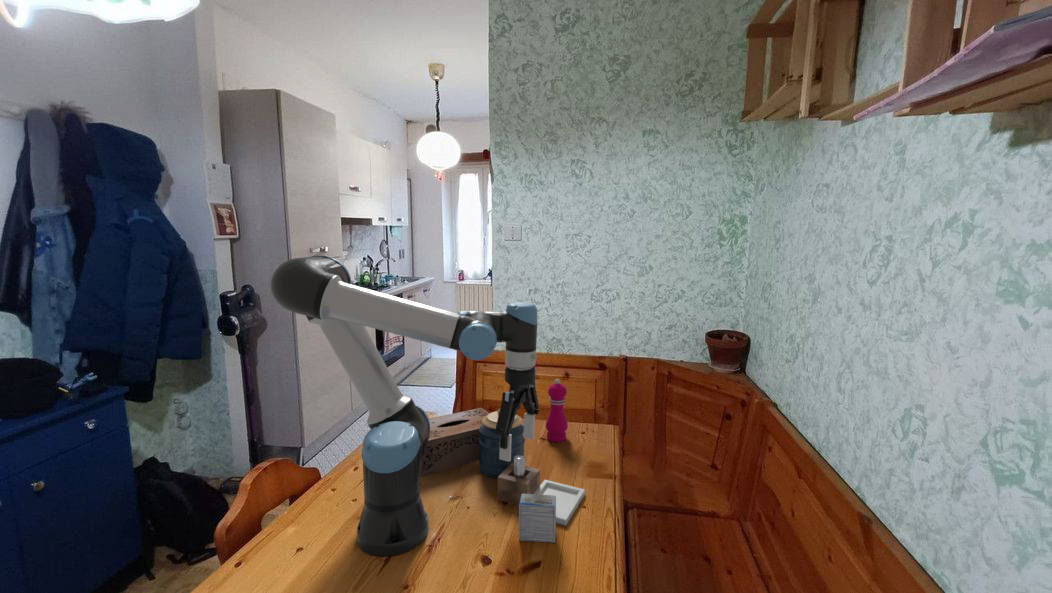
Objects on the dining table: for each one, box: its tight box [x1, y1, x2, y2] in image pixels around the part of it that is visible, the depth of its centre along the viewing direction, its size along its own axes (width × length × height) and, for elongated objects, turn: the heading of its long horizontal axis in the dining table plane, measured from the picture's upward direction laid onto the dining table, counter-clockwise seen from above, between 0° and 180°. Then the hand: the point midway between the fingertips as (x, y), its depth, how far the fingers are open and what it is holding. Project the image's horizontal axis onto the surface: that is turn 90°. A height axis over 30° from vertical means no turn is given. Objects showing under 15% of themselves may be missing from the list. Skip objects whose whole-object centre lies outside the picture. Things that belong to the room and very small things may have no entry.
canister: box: [478, 408, 526, 479], centre depth 128 cm, size 13×13×18 cm
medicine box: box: [518, 494, 557, 544], centre depth 99 cm, size 8×4×9 cm, turn 84°
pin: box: [514, 455, 526, 479], centre depth 115 cm, size 3×3×10 cm
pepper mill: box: [545, 378, 569, 443], centre depth 148 cm, size 7×7×20 cm
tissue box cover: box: [419, 407, 491, 477], centre depth 137 cm, size 26×14×10 cm, turn 122°
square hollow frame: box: [497, 463, 541, 506], centre depth 115 cm, size 8×8×6 cm
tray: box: [534, 479, 586, 527], centre depth 112 cm, size 11×14×2 cm
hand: (517, 448), depth 114 cm, fingers open, 13 cm apart
